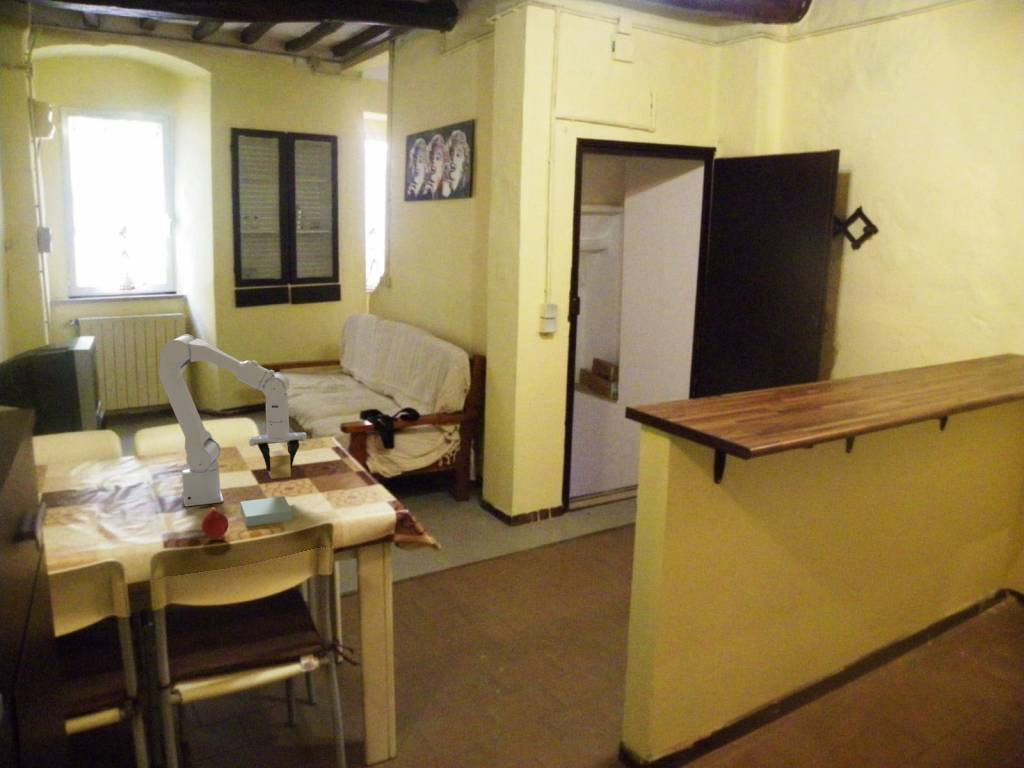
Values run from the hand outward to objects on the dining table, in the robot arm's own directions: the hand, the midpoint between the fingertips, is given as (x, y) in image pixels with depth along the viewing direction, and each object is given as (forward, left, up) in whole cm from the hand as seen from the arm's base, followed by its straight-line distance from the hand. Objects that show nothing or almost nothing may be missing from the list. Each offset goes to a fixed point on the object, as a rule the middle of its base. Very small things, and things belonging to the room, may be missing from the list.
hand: (279, 468), depth 207 cm
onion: (-18, -21, -9) cm, 29 cm away
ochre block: (0, 0, -2) cm, 2 cm away
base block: (-5, -10, -9) cm, 15 cm away
